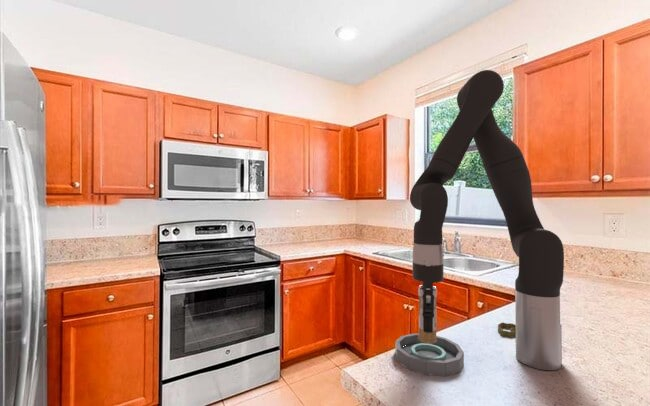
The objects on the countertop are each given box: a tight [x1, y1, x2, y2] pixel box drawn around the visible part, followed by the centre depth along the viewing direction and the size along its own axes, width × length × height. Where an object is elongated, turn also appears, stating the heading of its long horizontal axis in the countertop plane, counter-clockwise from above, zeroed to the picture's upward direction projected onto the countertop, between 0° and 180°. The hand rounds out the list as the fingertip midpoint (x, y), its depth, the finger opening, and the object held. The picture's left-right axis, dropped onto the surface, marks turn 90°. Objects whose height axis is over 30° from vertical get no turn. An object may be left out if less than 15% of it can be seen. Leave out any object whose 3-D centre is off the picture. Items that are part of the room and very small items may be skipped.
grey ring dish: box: [394, 333, 465, 377], centre depth 78 cm, size 16×16×3 cm
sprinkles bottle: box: [417, 286, 438, 344], centre depth 79 cm, size 5×5×14 cm
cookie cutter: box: [497, 321, 516, 338], centre depth 95 cm, size 18×12×2 cm, turn 123°
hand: (427, 327), depth 79 cm, fingers closed on sprinkles bottle, 4 cm apart
